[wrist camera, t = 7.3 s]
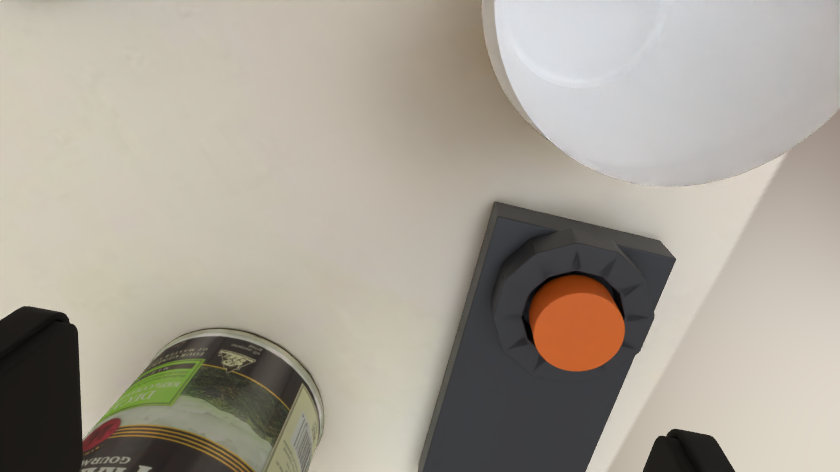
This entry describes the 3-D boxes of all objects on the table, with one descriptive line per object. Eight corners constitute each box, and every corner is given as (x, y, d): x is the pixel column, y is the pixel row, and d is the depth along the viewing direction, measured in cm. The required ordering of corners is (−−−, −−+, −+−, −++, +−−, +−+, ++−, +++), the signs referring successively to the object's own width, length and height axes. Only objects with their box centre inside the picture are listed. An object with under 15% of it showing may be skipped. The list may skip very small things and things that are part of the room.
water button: (496, 195, 27) (501, 224, 23) (662, 235, 27) (694, 270, 23) (418, 463, 33) (413, 521, 29) (555, 495, 33) (568, 556, 29)
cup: (748, -15, 23) (1019, -45, 12) (586, 157, 26) (682, 263, 15) (583, -180, 21) (715, -393, 10) (430, 22, 24) (403, 27, 13)
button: (542, 265, 24) (549, 283, 22) (626, 285, 24) (638, 304, 22) (518, 338, 25) (522, 360, 24) (598, 357, 25) (607, 380, 24)
